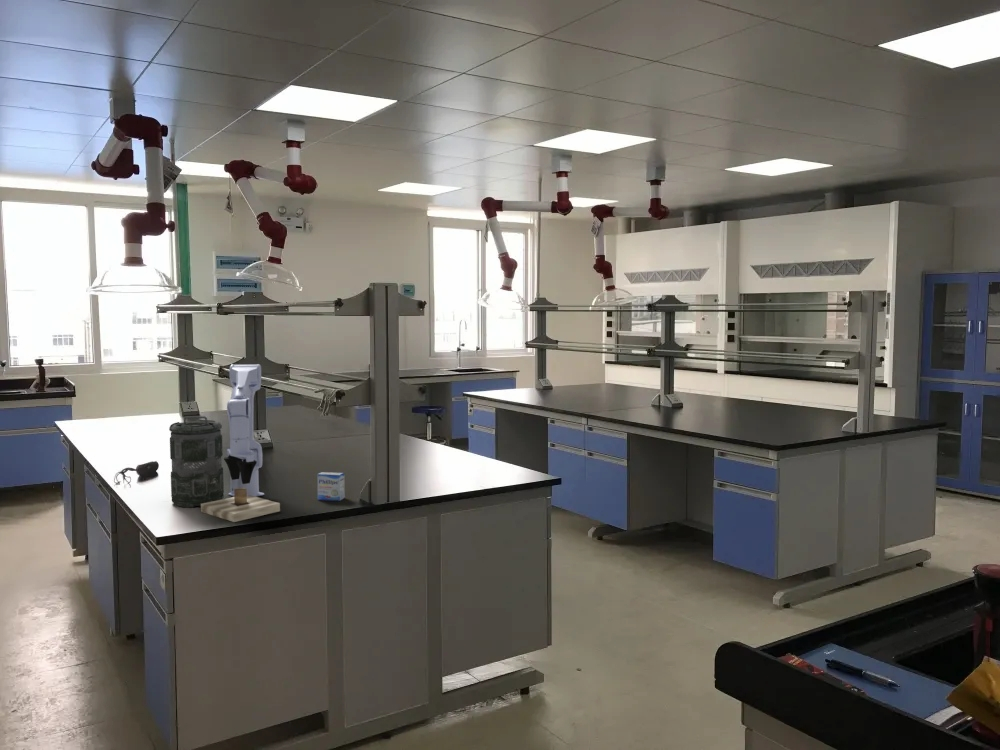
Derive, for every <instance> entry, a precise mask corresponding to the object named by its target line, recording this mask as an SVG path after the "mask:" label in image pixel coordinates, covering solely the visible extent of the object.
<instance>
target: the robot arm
mask: <svg viewBox="0 0 1000 750" xmlns="http://www.w3.org/2000/svg"><path fill="white" fill-rule="evenodd" d="M229 381H230V385H231V387H232V389H231V396H230V400H229V401H227V403H226V415H227V419H228V425H229V448H227V449H226V455H227V457H224V458H223V461H224V462H225V463H226V465H227V468H228V471H229V474H230V476H229V478H230V492H229V493H228V494H227V495H228V496H232V497H234V489H237V488H246V489H247V495H251V496H255V497H260V496H261V497H262V496H265V493H264V492H260V490H259V489H260V486H259V485H260V484H259V468H260V469H261V468H262V467H263V448H262V444H261V443H259V442H258V441H257V440H255V439H254V408H255V407H254V406H255V405H254V398H255V394H256V392H257V391H259V390H261V386H262V365H261V364H259V363H257V364H233V363H231V365H230V366H229Z"/></svg>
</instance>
